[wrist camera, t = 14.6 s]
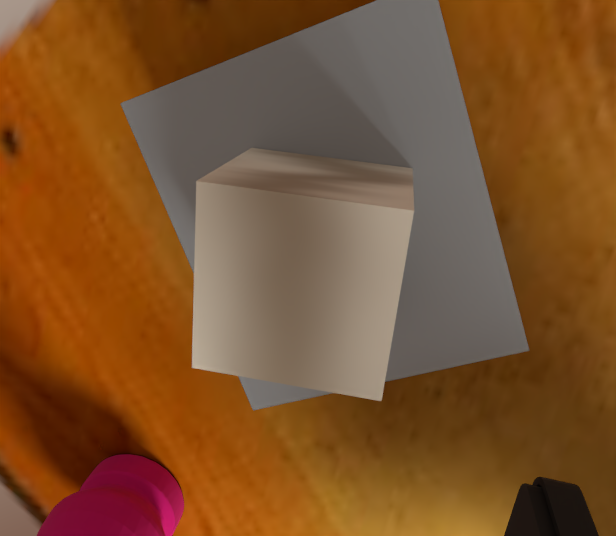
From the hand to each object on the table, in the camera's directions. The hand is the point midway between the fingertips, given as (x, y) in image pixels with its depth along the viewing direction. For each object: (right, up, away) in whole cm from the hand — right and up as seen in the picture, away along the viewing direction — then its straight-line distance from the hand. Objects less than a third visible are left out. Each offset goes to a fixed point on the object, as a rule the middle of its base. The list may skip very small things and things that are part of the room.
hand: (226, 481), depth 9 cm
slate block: (+3, +7, +18) cm, 20 cm away
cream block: (+2, +5, +13) cm, 14 cm away
